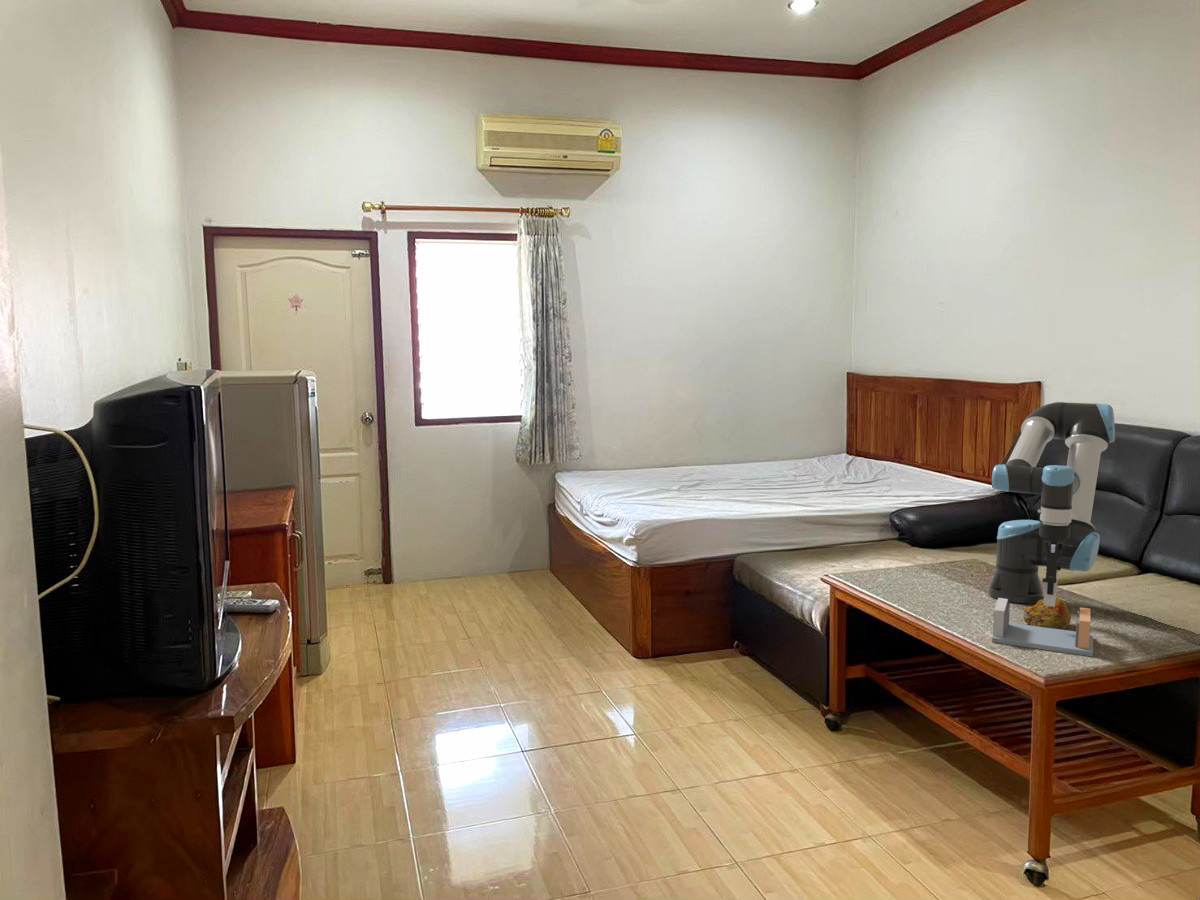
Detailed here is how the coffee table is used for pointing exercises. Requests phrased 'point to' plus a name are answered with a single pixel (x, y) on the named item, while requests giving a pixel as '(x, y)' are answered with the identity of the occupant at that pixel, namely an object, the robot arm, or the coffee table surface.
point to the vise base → (1034, 634)
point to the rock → (1048, 615)
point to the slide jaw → (1083, 628)
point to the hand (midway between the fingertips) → (1050, 599)
